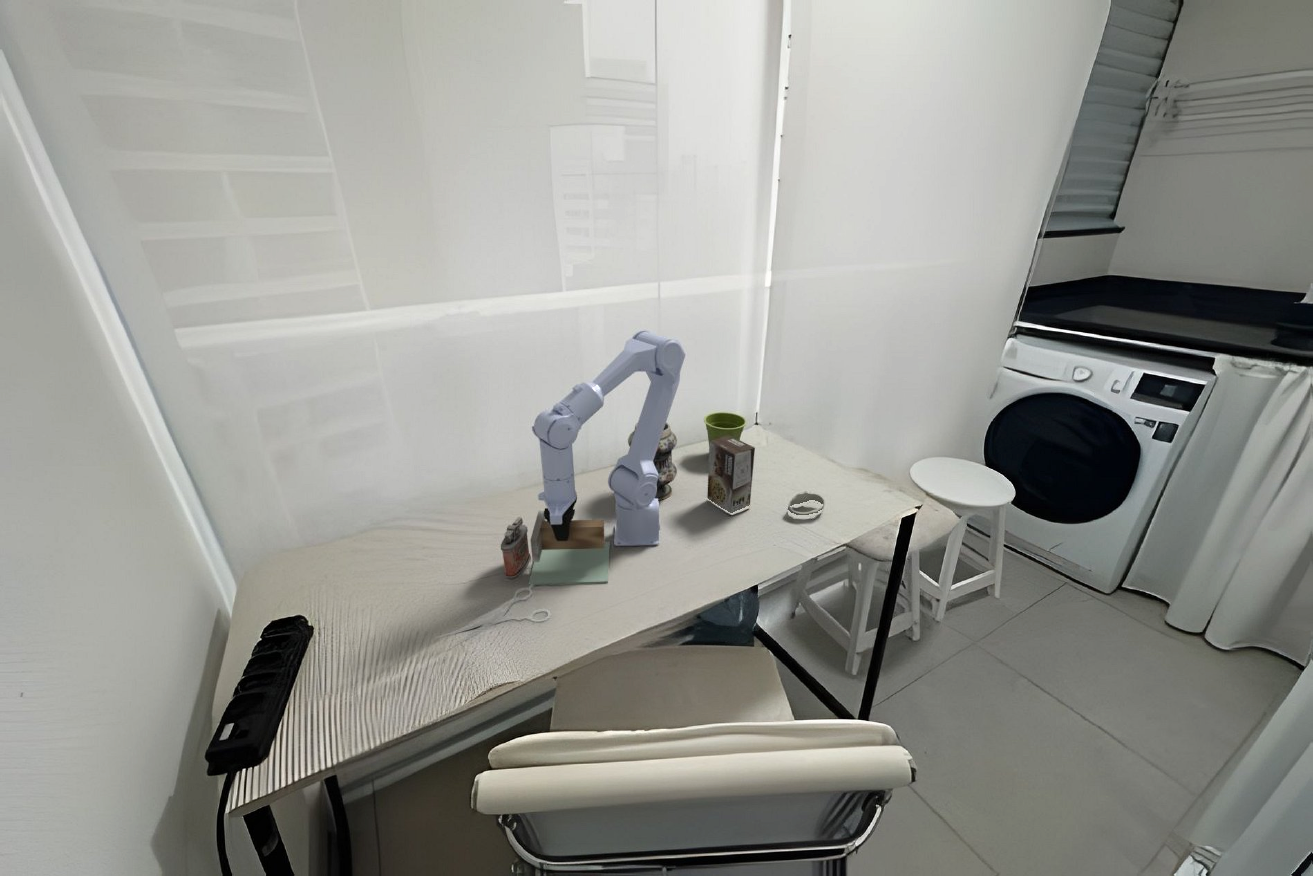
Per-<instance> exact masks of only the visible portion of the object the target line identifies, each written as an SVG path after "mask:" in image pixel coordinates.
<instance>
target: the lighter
mask: <svg viewBox="0 0 1313 876" xmlns="http://www.w3.org/2000/svg"><path fill="white" fill-rule="evenodd" d="M523 523H524V521H523V518H522V517H521V516H520V517H519V516H518V517H517V518H516V519H515V520H514V521H513V522H512V523H511V524H509V525H508V526H507V527H506V531H505V532H504V535H503V536H504V538H503V539H502V541H501V544H500V550H501V551H502V557H503V564H504V565H503V566H504V579H505V580H506V581H510V582H511V581H516V580H517V579H518V578H519V577H521V575H522V574H524V572H525V571H526V569H528V566H529V564H530V562H531V560H532V555H531V553H530V549H529V548H530V547H529V539H528V526H527V525H525V524H523Z"/></svg>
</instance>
